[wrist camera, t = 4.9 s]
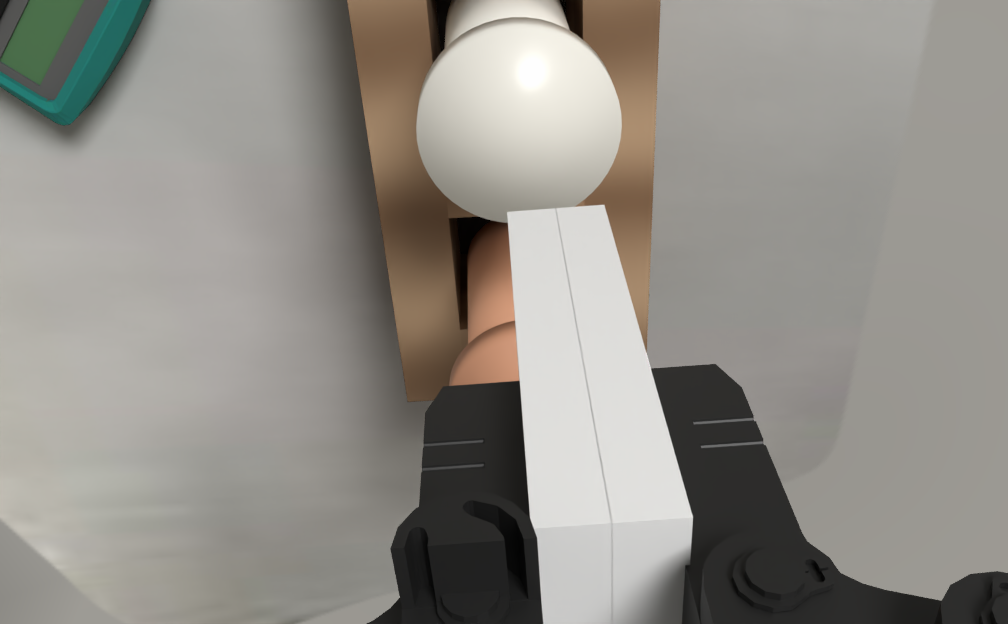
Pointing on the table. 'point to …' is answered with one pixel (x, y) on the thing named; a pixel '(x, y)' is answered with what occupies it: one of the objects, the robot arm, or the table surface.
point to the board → (433, 217)
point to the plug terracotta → (489, 312)
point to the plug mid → (516, 110)
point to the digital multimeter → (63, 50)
